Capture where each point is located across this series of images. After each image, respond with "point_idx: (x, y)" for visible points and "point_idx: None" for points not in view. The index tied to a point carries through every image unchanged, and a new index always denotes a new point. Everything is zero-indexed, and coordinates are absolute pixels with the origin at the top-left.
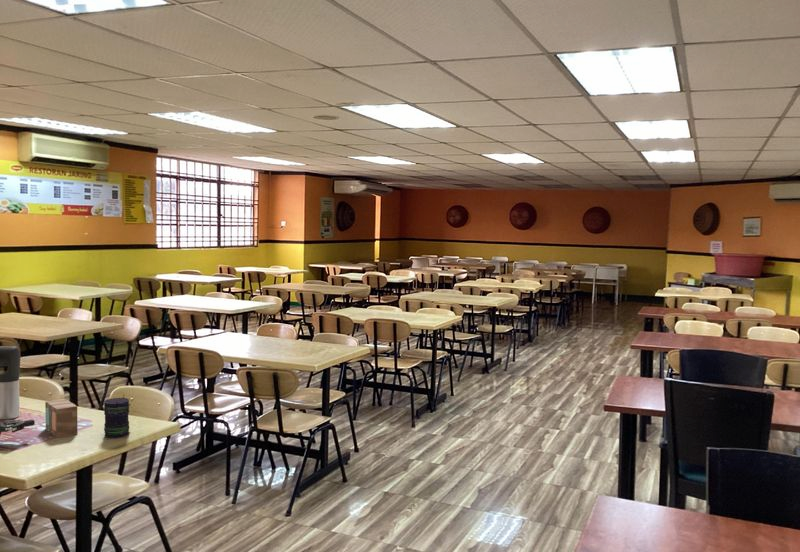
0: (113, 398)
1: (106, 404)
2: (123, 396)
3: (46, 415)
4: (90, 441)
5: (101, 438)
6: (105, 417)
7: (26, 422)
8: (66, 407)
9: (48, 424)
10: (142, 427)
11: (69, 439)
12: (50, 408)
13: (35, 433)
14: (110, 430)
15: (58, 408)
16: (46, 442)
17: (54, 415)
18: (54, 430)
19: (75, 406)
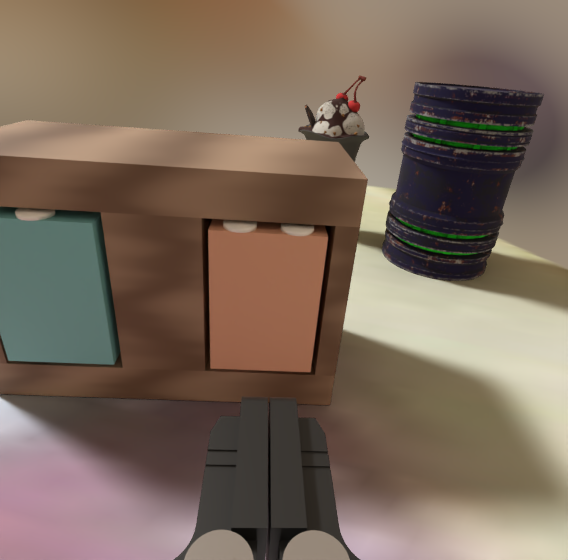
0: (416, 83)
1: (520, 103)
2: (359, 84)
3: (13, 289)
4: (509, 324)
5: (465, 290)
6: (476, 183)
7: (322, 510)
8: (338, 156)
9: (93, 354)
10: (363, 211)
11: (423, 371)
12: (127, 203)
13: (51, 493)
14: (491, 240)
15: (340, 172)
16: (446, 500)
17: (294, 251)
18: (252, 371)
19: (340, 144)
